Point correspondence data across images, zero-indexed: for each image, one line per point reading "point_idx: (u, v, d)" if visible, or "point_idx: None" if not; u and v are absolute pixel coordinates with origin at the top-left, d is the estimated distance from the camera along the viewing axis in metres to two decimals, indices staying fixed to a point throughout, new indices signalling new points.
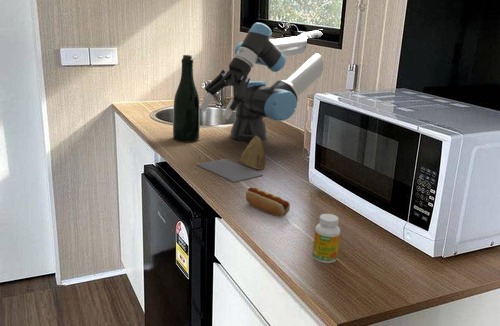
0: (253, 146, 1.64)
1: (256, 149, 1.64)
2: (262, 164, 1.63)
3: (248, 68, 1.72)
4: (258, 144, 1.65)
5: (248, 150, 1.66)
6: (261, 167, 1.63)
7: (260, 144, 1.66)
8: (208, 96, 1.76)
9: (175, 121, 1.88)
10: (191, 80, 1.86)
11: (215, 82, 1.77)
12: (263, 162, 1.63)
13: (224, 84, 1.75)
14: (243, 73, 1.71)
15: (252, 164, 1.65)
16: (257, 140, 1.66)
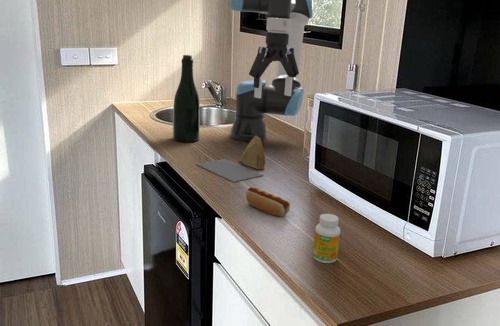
0: (253, 146, 1.65)
1: (256, 149, 1.64)
2: (262, 164, 1.63)
3: None
4: (258, 144, 1.65)
5: (248, 150, 1.66)
6: (261, 167, 1.63)
7: (260, 144, 1.66)
8: None
9: (175, 121, 1.88)
10: (191, 80, 1.86)
11: None
12: (263, 162, 1.63)
13: None
14: None
15: (252, 164, 1.65)
16: (257, 140, 1.66)
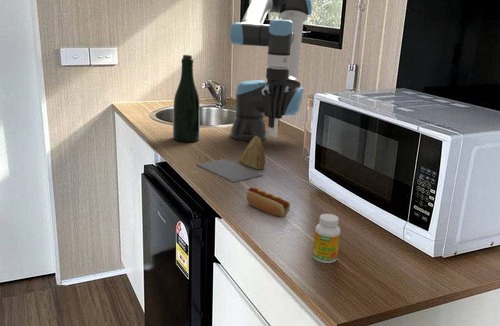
0: (253, 146, 1.65)
1: (256, 149, 1.64)
2: (262, 164, 1.63)
3: None
4: (258, 144, 1.65)
5: (248, 150, 1.66)
6: (261, 167, 1.63)
7: (260, 144, 1.66)
8: None
9: (175, 121, 1.88)
10: (191, 80, 1.86)
11: None
12: (263, 162, 1.63)
13: None
14: None
15: (252, 164, 1.65)
16: (257, 140, 1.66)
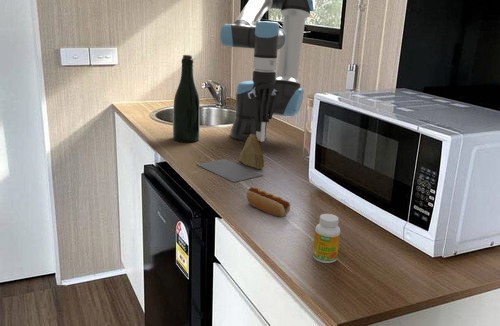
0: (249, 146, 1.63)
1: (253, 149, 1.63)
2: (261, 162, 1.63)
3: None
4: (254, 143, 1.63)
5: (245, 150, 1.65)
6: (261, 166, 1.63)
7: (256, 142, 1.64)
8: None
9: (175, 121, 1.88)
10: (191, 80, 1.86)
11: None
12: (262, 161, 1.63)
13: None
14: None
15: (252, 163, 1.65)
16: (252, 139, 1.64)
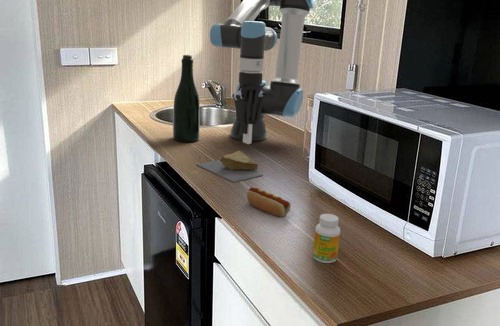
0: None
1: None
2: (253, 166, 1.60)
3: None
4: (232, 165, 1.59)
5: None
6: (256, 166, 1.61)
7: (232, 163, 1.59)
8: None
9: (175, 121, 1.88)
10: (191, 80, 1.86)
11: None
12: (251, 165, 1.60)
13: None
14: None
15: None
16: (227, 164, 1.59)
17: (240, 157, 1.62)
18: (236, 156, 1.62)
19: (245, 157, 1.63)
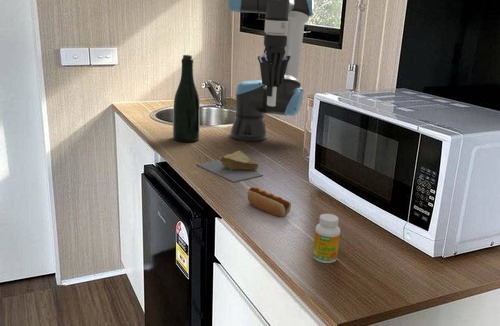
0: None
1: None
2: (253, 166, 1.60)
3: None
4: (232, 165, 1.59)
5: None
6: (256, 166, 1.61)
7: (232, 163, 1.59)
8: None
9: (175, 121, 1.88)
10: (191, 80, 1.86)
11: None
12: (251, 165, 1.60)
13: None
14: None
15: None
16: (227, 164, 1.59)
17: (240, 157, 1.62)
18: (236, 156, 1.62)
19: (245, 157, 1.63)
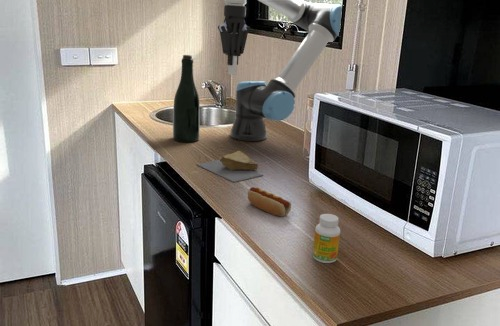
0: None
1: None
2: (253, 166, 1.60)
3: None
4: (232, 165, 1.59)
5: None
6: (256, 166, 1.61)
7: (232, 163, 1.59)
8: None
9: (175, 121, 1.88)
10: (191, 80, 1.86)
11: None
12: (251, 165, 1.60)
13: None
14: None
15: None
16: (227, 164, 1.59)
17: (240, 157, 1.62)
18: (236, 156, 1.62)
19: (245, 157, 1.63)
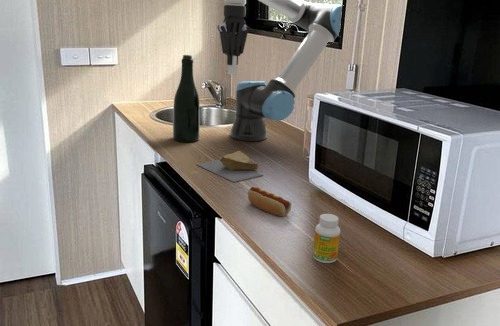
0: None
1: None
2: (253, 166, 1.60)
3: None
4: (232, 165, 1.59)
5: None
6: (256, 166, 1.61)
7: (232, 163, 1.59)
8: None
9: (175, 121, 1.88)
10: (191, 80, 1.86)
11: None
12: (251, 165, 1.60)
13: None
14: None
15: None
16: (227, 164, 1.59)
17: (240, 157, 1.62)
18: (236, 156, 1.62)
19: (245, 157, 1.63)
